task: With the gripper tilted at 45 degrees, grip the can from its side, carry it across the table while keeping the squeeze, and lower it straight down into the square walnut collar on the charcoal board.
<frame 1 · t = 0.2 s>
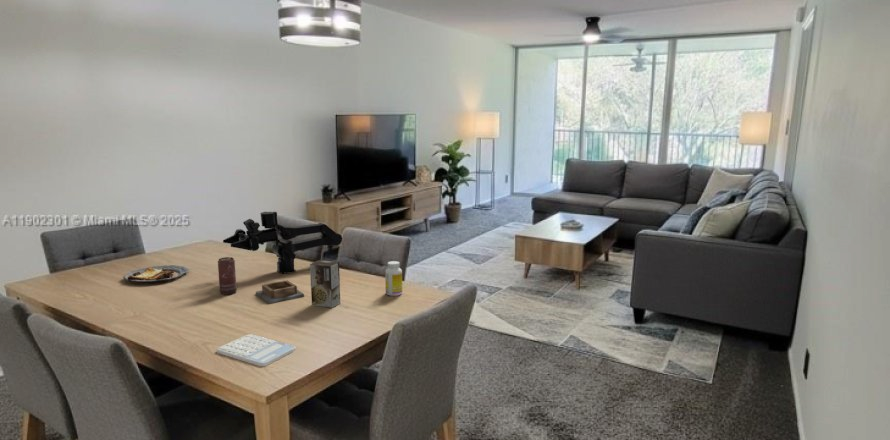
hand: (226, 243, 225), 17 cm above the table, tool horizontal, fingers open, 9 cm apart
supplement bottle: (393, 294, 215), on the table
collar: (279, 295, 212), on the table
coffee box: (326, 304, 202), on the table
can: (228, 293, 214), on the table
calculator: (256, 353, 162), on the table
food plate: (157, 277, 234), on the table
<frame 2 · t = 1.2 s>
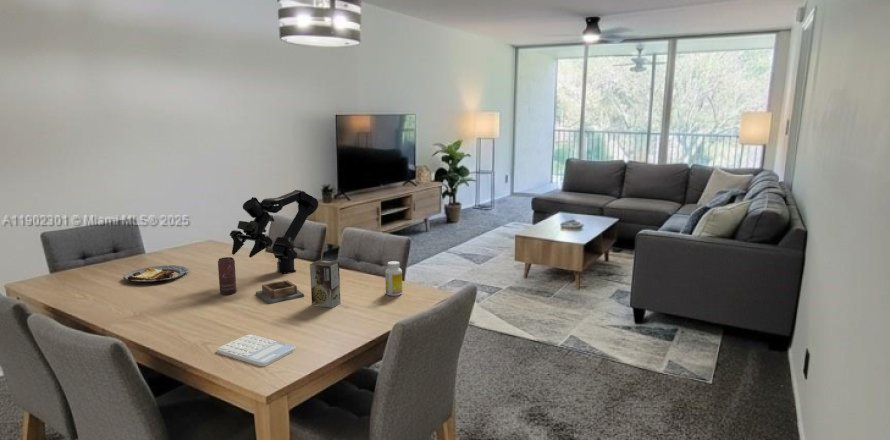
hand: (241, 255, 218), 13 cm above the table, tool tilted 45°, fingers open, 9 cm apart
nothing on the table moved.
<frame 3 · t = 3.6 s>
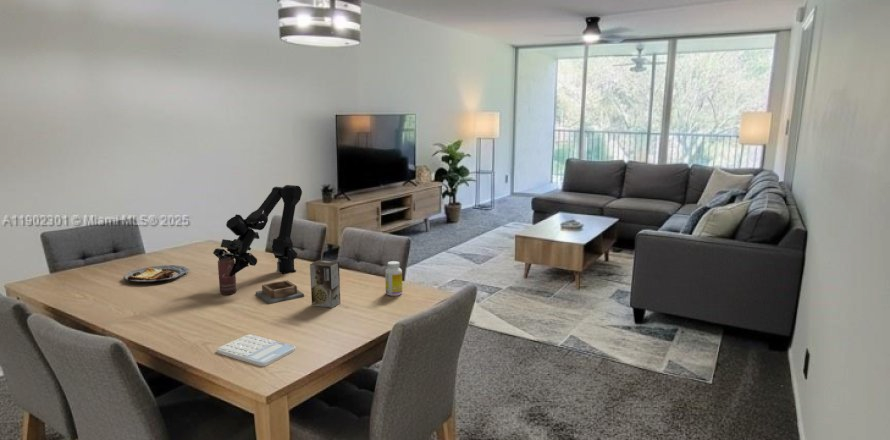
hand: (224, 275, 211), 8 cm above the table, tool tilted 45°, fingers closed on can, 5 cm apart
can: (228, 293, 214), on the table, touching gripper
everything else where it was.
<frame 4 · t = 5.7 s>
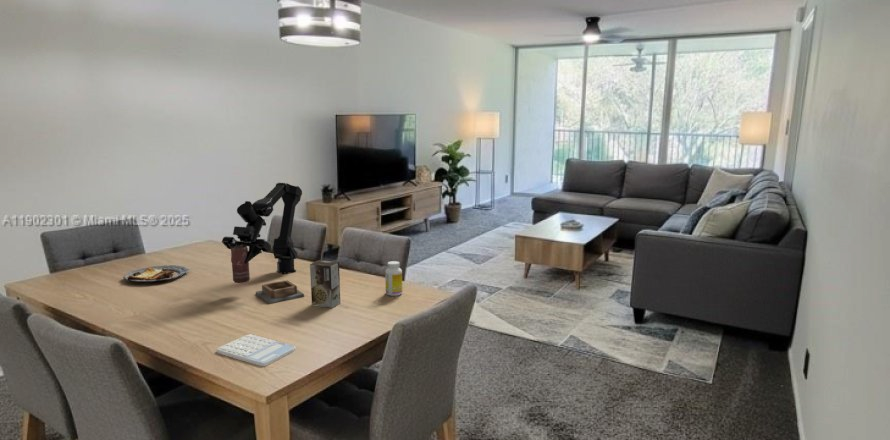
hand: (238, 262, 208), 13 cm above the table, tool tilted 45°, fingers closed on can, 5 cm apart
can: (241, 281, 211), point 5 cm above the table, touching gripper
everything else where it was.
when the fingers open (9 cm above the table, at t = 8.1 s): can stays where it is, resting on collar.
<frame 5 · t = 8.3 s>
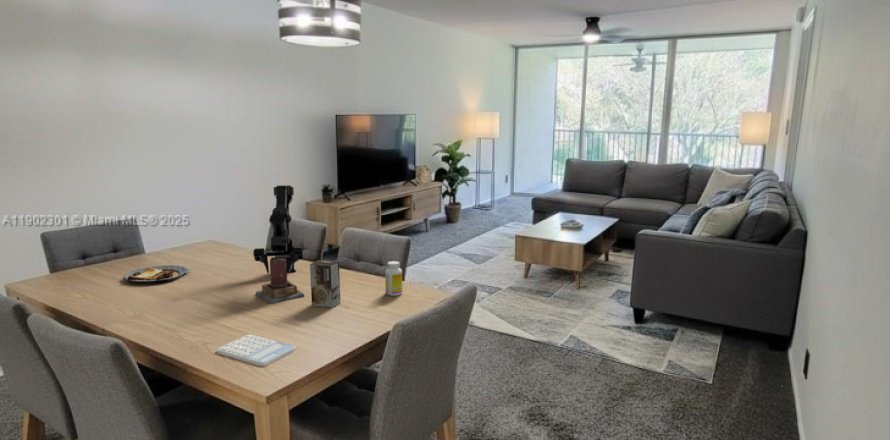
hand: (278, 272, 208), 10 cm above the table, tool tilted 45°, fingers open, 7 cm apart
can: (279, 293, 212), point 1 cm above the table, touching collar
everything else where it was.
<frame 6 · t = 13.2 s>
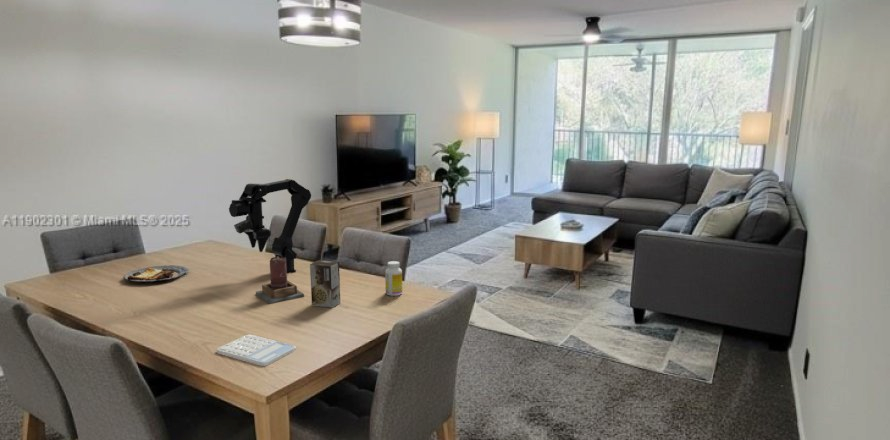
hand: (257, 249, 230), 13 cm above the table, tool pointing down, fingers open, 9 cm apart
nothing on the table moved.
at the end: can 0.3 cm off-centre on the collar, point 0.8 cm above the collar's base; can tilted 0°; the gripper is holding nothing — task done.
